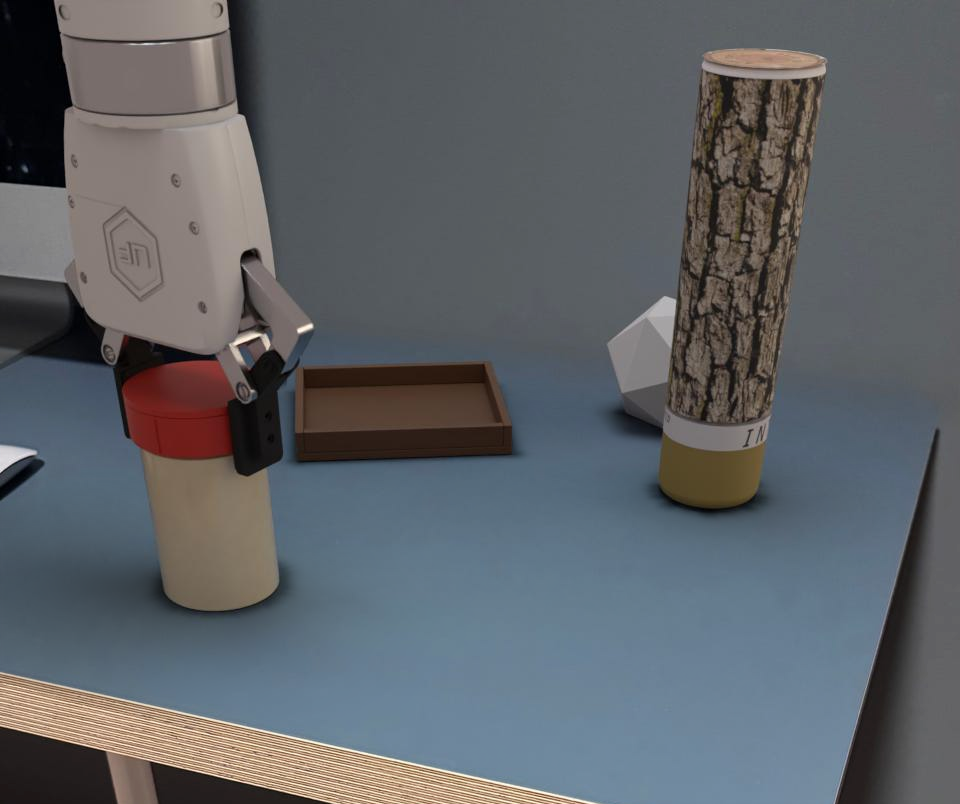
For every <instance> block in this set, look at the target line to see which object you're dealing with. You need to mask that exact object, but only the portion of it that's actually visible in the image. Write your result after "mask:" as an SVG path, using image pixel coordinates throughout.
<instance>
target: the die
mask: <svg viewBox="0 0 960 804" xmlns="http://www.w3.org/2000/svg"><path fill="white" fill-rule="evenodd" d="M676 300H677V298H676V299H675V298H672V297H669V296H667V295H664V296H663V297H661V298H660V299H659V300H658V301H657V302H655V303H654V304H653V305H651V306H650V308H647V310H646V311H644V312H643V313H641V314H640V315H639V316H638V317H637V318H636V319H635V320H634V321H632V322H631V323H630V324H629V325H627V326H626V327H625V328H624V329H622V331H620V332H619V333H618V334H617V335H615V336H614V337H613V338H612V339H611V340H609V341H608V342H607V343H606V345H607V350H608V353H609V356H610V361H611V364H612V367H613V372H614V375H615V378H616V382H617V385H618V389H619V393H620V398H621V401H622V404H623V408H624V411H625V414H626V415H627V414H628V415H630V416H632V417H635V418H636V419H638V420H642V421H644V422H646V423H648V424H651V425H653V426H656V427H658V428H660V429H663V423H664V413H665V404H666V394H667V385H668V376H669V366H670V357H671V347H672V338H673V328H674V319H675V310H676Z"/></svg>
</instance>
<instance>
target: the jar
mask: <svg viewBox="0 0 960 804" xmlns="http://www.w3.org/2000/svg"><path fill="white" fill-rule="evenodd" d="M138 448H139V453H140V459H141V465H142V471H143V476H144V482H145V483H144V484H145V486H146V487H145V488H146V493H147V500H148V506H149V511H150V512H149V513H150V516H151V523H152V531H153V535H154V541H155V546H156V552H157V558H158V564H159V570H160V575H161V583H162V587H163V592H164V593H165V595H166V597H167V598H168V599H169V600H171V601H172V603H175V604H177V605H178V606H181V607H184V608H186V609H191V610H195V611H204V612H223V611H225V612H226V611H231V610H232V611H233V610H238V609H243V608H246V607H249V606H252V605H254V604H255V605H256V604H257V603H260V602H263V601H264V600H265V599H266V598H268V597H269V596H271V595H273V594H274V592H275V591H276V589H278V586H279V584H280V571H279V563H278V562H279V561H278V552H277V542H276V532H275V524H274V522H275V521H274V514H273V505H272V494H271V486H270V478H269V476H270V475H269V467H267V468H265V469H263V470H261V471H259V472H257V473H255V474H253V475H251V476H248V477H246V476H243V475H240V474H238V473H237V472H236V470H235V466H234V458H233V453H230V454H225V455H219V456H212V457H203V458H180V457H169V456H163V455H158V454H154V453H150V452H148V451H145V450H143V449H141V448H140V447H138Z"/></svg>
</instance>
